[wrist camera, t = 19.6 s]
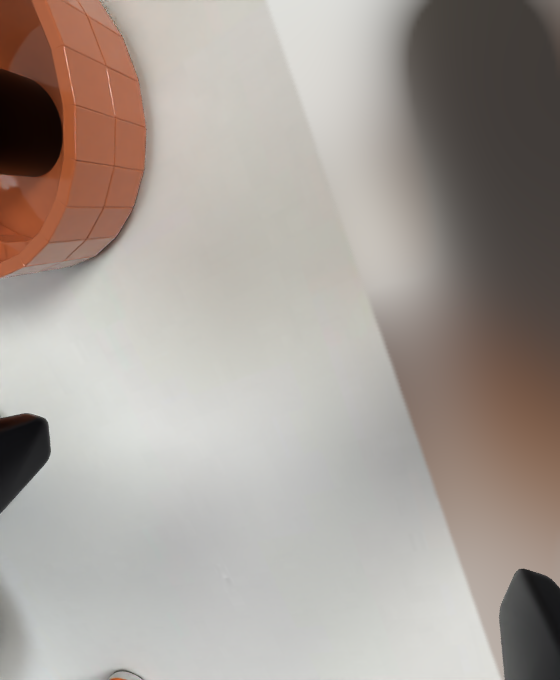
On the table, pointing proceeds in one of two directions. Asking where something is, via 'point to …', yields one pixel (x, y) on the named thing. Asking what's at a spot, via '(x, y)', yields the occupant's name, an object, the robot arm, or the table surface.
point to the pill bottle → (124, 676)
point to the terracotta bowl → (72, 135)
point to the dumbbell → (27, 127)
